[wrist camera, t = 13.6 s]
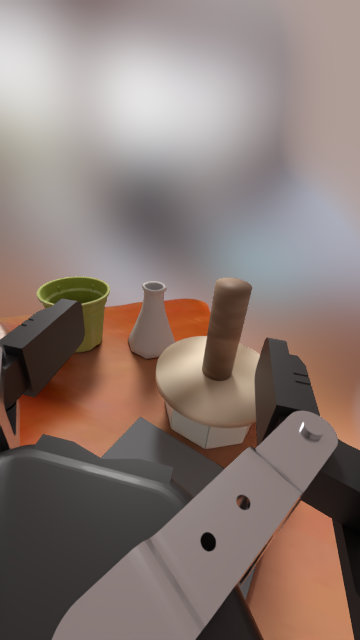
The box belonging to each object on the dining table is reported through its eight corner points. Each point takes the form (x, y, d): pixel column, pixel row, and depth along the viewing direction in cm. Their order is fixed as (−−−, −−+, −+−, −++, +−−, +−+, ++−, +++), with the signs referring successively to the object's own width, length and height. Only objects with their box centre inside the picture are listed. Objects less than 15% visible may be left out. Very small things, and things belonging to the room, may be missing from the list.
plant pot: (44, 365, 37) (31, 308, 32) (50, 327, 44) (40, 277, 40) (115, 356, 39) (112, 302, 35) (109, 322, 47) (107, 275, 43)
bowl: (149, 415, 31) (150, 383, 28) (193, 368, 38) (197, 339, 36) (231, 465, 27) (241, 432, 24) (262, 401, 34) (272, 371, 32)
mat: (17, 548, 20) (15, 546, 20) (140, 419, 30) (140, 416, 30) (196, 757, 14) (198, 756, 13) (274, 502, 24) (275, 500, 24)
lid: (129, 385, 28) (128, 286, 22) (193, 331, 37) (203, 252, 32) (252, 455, 22) (291, 346, 17) (289, 370, 32) (322, 283, 26)
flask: (119, 340, 43) (117, 281, 38) (158, 327, 47) (160, 272, 42) (144, 366, 38) (145, 302, 33) (184, 349, 42) (191, 290, 37)
